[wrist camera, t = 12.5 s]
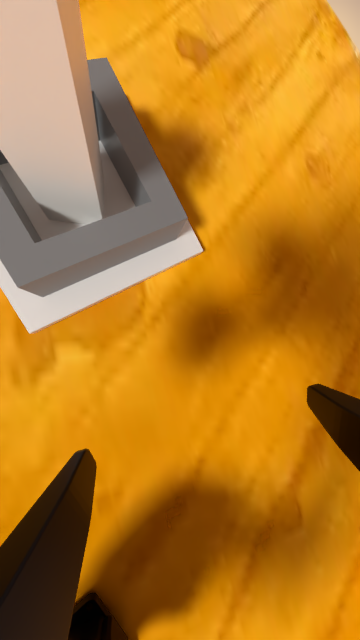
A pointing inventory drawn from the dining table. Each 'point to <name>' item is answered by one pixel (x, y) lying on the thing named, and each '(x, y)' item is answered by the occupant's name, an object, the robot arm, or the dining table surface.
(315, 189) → the dining table surface
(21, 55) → the connector
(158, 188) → the box
